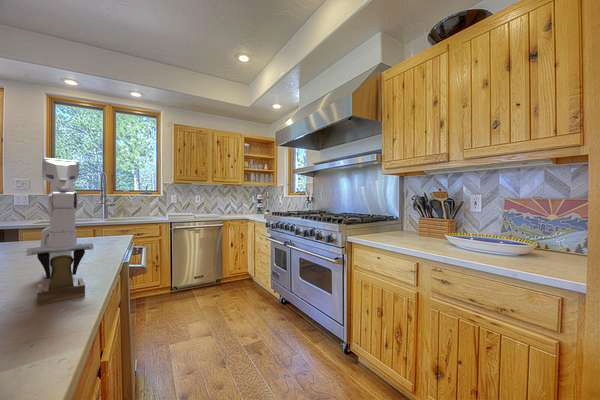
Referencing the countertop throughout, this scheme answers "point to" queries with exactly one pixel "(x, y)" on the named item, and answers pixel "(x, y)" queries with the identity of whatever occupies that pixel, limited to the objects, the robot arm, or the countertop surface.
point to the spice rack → (60, 293)
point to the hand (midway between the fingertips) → (61, 275)
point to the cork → (61, 272)
